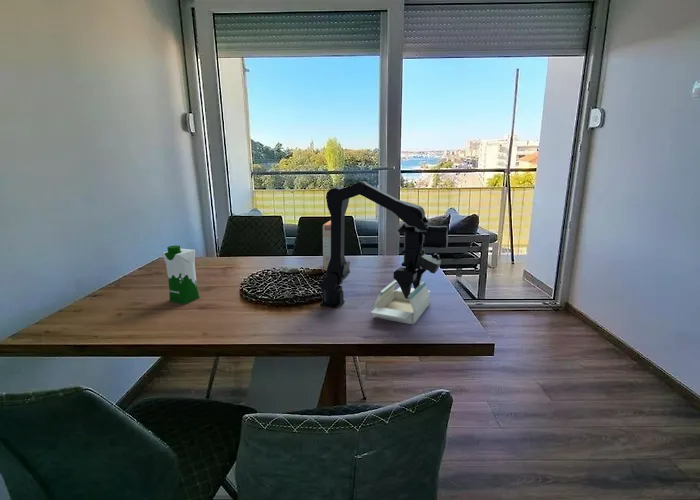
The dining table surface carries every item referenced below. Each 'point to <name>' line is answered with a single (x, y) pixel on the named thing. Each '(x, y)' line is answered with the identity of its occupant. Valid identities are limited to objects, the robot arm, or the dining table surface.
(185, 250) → the milk carton
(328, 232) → the cracker box
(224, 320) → the dining table surface
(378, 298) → the flap
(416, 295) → the flap
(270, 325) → the dining table surface
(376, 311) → the carton
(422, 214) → the robot arm
